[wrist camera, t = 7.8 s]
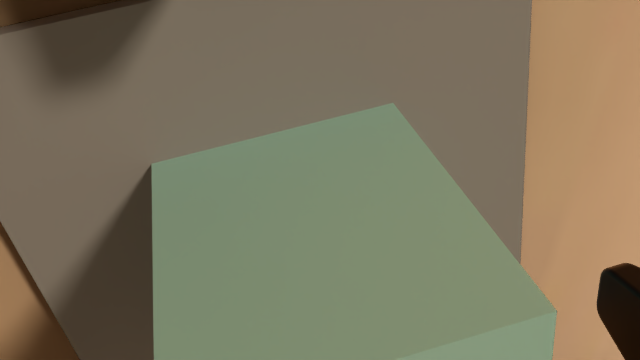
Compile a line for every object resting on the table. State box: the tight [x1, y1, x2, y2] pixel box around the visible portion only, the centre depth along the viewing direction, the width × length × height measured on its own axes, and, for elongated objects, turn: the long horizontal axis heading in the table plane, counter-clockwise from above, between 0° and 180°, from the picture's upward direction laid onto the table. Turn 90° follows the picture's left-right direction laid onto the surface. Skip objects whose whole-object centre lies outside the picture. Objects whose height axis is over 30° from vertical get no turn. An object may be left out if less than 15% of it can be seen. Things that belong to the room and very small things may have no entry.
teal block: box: [151, 103, 557, 360], centre depth 10 cm, size 4×4×6 cm
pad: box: [0, 0, 532, 360], centre depth 12 cm, size 10×10×1 cm
